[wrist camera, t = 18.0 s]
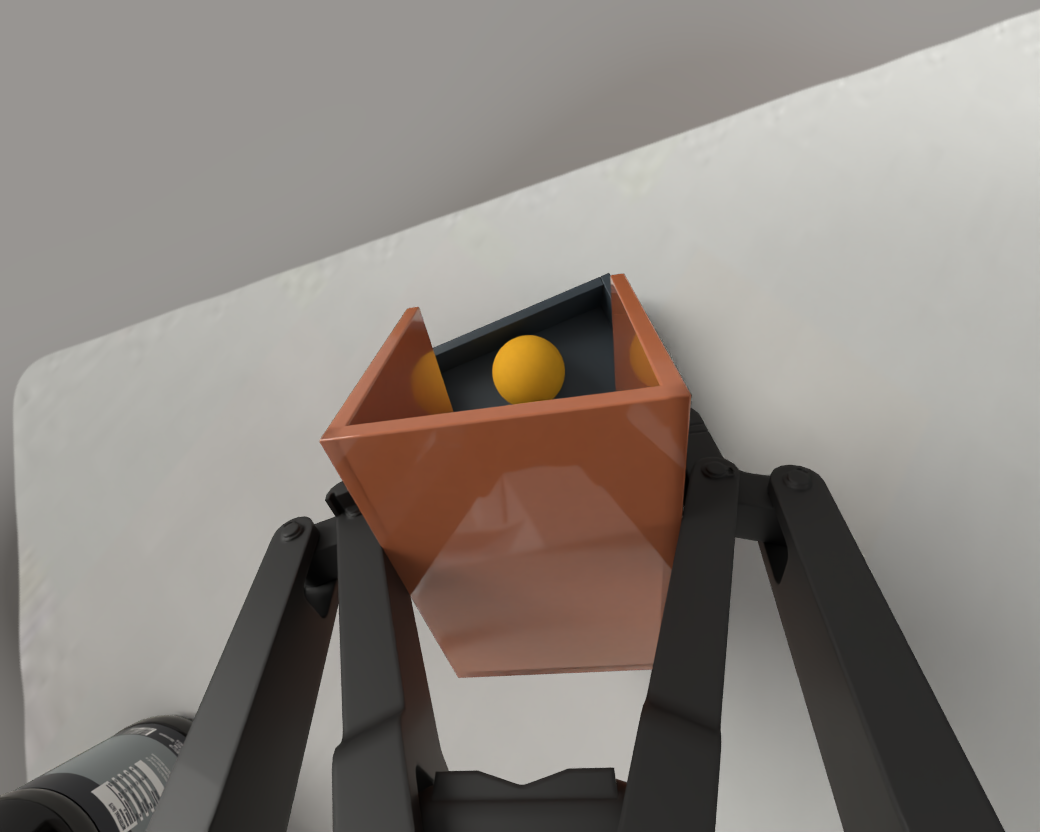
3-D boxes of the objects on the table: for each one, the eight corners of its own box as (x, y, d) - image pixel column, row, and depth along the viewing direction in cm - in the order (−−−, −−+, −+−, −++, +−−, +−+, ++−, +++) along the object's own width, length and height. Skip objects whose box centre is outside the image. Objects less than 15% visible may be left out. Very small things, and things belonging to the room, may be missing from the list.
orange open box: (670, 669, 15) (692, 394, 8) (457, 678, 16) (317, 440, 9) (619, 456, 24) (609, 245, 18) (486, 470, 25) (428, 276, 19)
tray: (605, 297, 29) (609, 272, 26) (693, 488, 26) (711, 490, 23) (422, 374, 30) (401, 360, 27) (489, 566, 28) (476, 579, 24)
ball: (568, 334, 28) (578, 356, 24) (552, 396, 30) (558, 426, 26) (500, 320, 27) (498, 340, 23) (488, 384, 29) (484, 413, 25)
